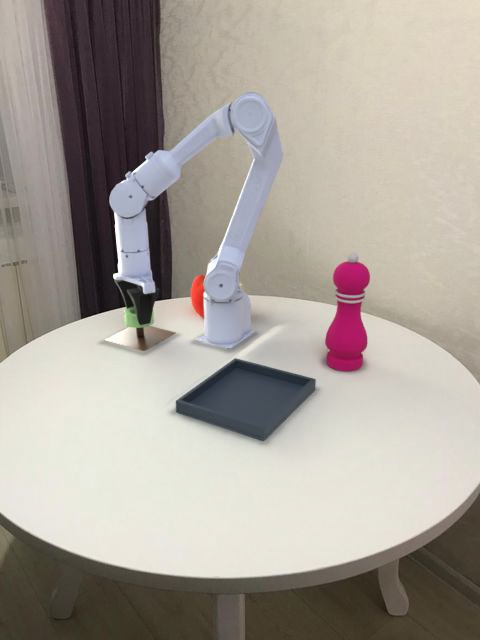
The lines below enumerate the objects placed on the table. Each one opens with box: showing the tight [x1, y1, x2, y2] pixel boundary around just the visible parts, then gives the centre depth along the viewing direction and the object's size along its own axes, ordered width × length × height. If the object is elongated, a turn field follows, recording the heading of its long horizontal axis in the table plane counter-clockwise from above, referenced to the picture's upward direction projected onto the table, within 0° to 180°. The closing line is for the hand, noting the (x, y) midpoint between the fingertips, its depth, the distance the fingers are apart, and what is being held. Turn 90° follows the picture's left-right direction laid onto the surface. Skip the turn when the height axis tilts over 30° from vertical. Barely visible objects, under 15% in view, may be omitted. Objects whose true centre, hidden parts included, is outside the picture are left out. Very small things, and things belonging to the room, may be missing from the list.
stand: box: [103, 325, 177, 352], centre depth 113 cm, size 10×10×4 cm
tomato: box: [190, 274, 241, 318], centre depth 123 cm, size 11×11×9 cm
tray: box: [175, 357, 317, 442], centre depth 92 cm, size 17×15×2 cm
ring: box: [123, 307, 155, 328], centre depth 112 cm, size 5×5×2 cm
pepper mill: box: [324, 252, 371, 372], centre depth 100 cm, size 7×7×20 cm
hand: (139, 318), depth 113 cm, fingers closed on ring, 5 cm apart
